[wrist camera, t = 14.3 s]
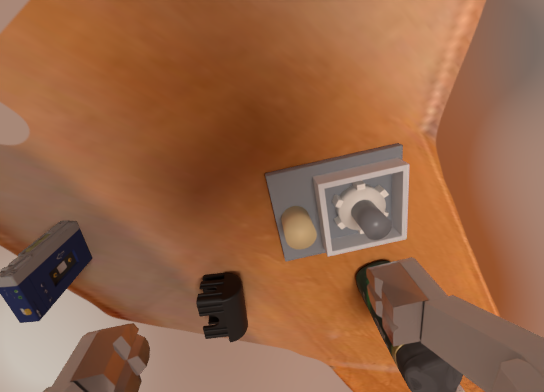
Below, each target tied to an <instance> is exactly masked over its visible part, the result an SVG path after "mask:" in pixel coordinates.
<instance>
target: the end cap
mask: <svg viewBox="0 0 544 392" xmlns="http://www.w3.org/2000/svg"><path fill="white" fill-rule="evenodd" d="M200 289H203V293H201V294H198V297H197V308H198V311H199V315H200V316H207V315H209V322H208V324H209V326H203V330H204V334H205V338H206V339H209V338H218V337H226V336H229V340H230V342H233V341H236V340H238V339H240V338H241V337H242V336H243V335H244V334H245V332H246V330H247V328H248V320H247V313H246V307H245V300H244V293H243V286H242V281H241V279H240V278H239V277H238V276H236V275H234V274H230V273H217V274H208V275H204V276H203V281H202V282H201V284H200ZM210 324H215V325H210Z"/></svg>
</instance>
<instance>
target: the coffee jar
mask: <svg viewBox="0 0 544 392" xmlns="http://www.w3.org/2000/svg"><path fill="white" fill-rule="evenodd" d="M386 263H390V262H389V261H378V262H374V263H371V264H369V265H367V266H365V267H364V268H362V269H361V270H360V271H359V272H358V273H357V276H356V281H357V286H358V289H359V291H360V293H361V295H362V297H363V299H364V301H365V303H366V305H367V307H368V309H369V311H370V313H371V316H372V318H373V320H374V322H375V324H376V326H377V328H378V330H379V332H380V334H381V336H382V338H383V340H384V342H385V344H386V346H387V348H388V350H389V352H390V354H391V356H392V357H393V359H394V361H395V363H396V365H397V367H398V369H399V371H400V372H401V374H402V376H403V378H404V380H405V381H406V383H407V386H408V387H409V389H410V390H411V391H412V392H456V391H457V387H458V386H459V384H460V382H461V380H462V376H463V374H462V373H460V372H459V371H458V370H456V369H455V368H454V367H452V366H451V365H450V364H448V363H447V362H446V361H444V360H443V359H442V358H440V357H439V356H438V355H437V354H435V353H434V352H433V351H431V350H430V349H429V348H427V347H426V346H425V345H423V344H422V343H421V341H419V342H414V343H409V344H404V345H399V346H393V345H392V343H391V341H390V339H389V338H388V336H387V334H386V332H385V330H384V328H383V322H382V318H381V317H380V316H378V315H377V314H376V313H375V311H374V309H373V307H372V304H371V302H370V299H369V295H368V289H367V285H368V284H369V283H370V282H369V280H368V278H367V275H366V270H367V268H369V267H374V266H378V265H382V264H386Z"/></svg>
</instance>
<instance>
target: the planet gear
mask: <svg viewBox="0 0 544 392" xmlns="http://www.w3.org/2000/svg"><path fill="white" fill-rule="evenodd" d="M352 183H353V186H350V187H348V188H347V189H345V190H344V191H343V192H342V193H341V194H340V196H339V195H334V197H333V200H332V203H333V204H334V206H335V207H336V212H337V215H338V216H337V217H336V218H334V220H335V222H336V224H337V225H338V226H339V227H340V228H341V229H343V228H345V227H348V228H350V229H352V230H358V232H359V233H360V234H364V233H365V235H366V236H367V237H368V238H369V239H371V240H379V239H382V238H384V237H385V236H387V235H388V234H389V232H390V231H391V228H392V224H391V221H390V220H389V219H388V218H387V216H388V214H389V213H388V212H387V211H386V210H385V209H386V202H385V199H384V198H385V197H386V196H388V195H389V194H388V193H387V191H386V190H385V189H384V188H383V187H382V186H380V185H378V186H376V187H375V188H374V187H372V186H371V185H368V184H365V183H364V182H363V181H362V180H361V181H356V182H352Z"/></svg>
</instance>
